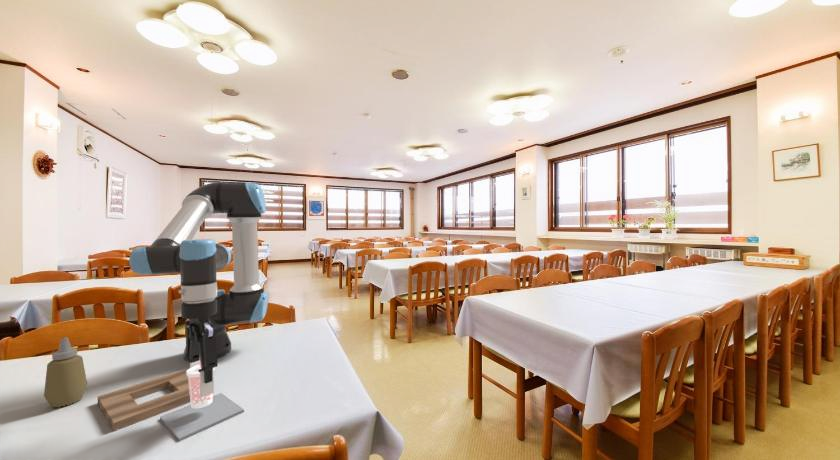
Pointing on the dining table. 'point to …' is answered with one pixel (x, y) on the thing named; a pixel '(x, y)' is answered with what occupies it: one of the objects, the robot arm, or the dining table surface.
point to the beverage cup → (197, 388)
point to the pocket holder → (128, 412)
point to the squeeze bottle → (65, 376)
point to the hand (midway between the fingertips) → (201, 390)
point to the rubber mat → (200, 417)
